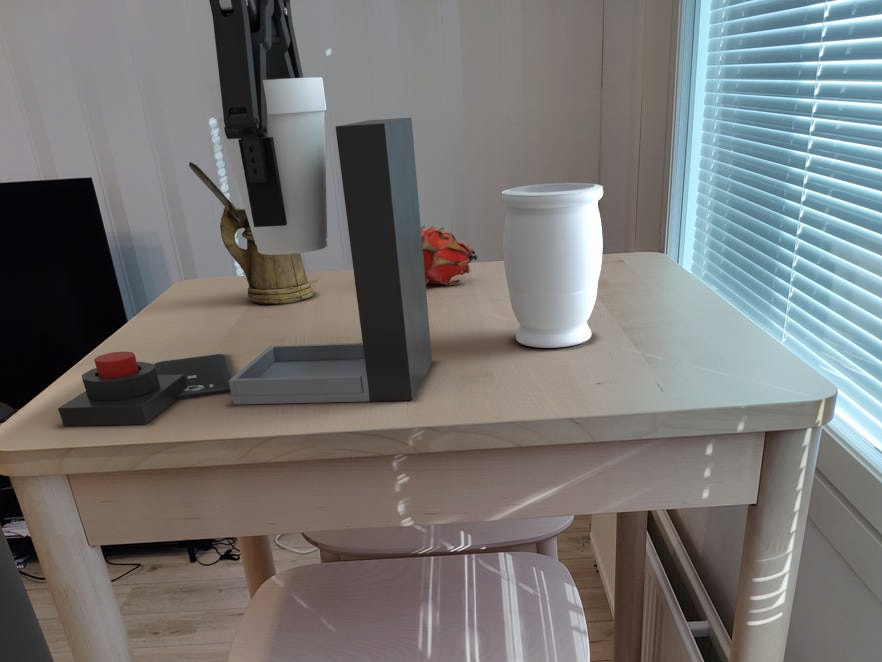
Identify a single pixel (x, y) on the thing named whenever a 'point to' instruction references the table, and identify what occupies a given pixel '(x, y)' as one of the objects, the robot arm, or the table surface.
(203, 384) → the smartphone
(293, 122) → the foam cup
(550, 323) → the jar
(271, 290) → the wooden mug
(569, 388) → the table surface
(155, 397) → the panel
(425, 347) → the coffee maker
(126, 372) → the button
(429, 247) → the dragon fruit
